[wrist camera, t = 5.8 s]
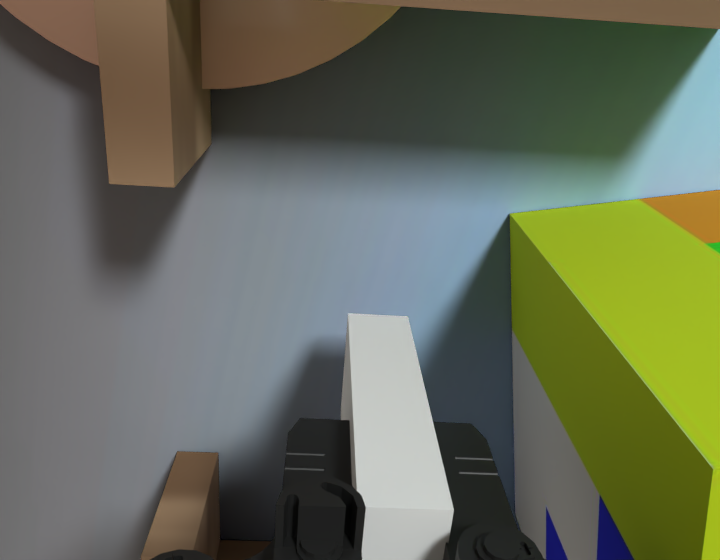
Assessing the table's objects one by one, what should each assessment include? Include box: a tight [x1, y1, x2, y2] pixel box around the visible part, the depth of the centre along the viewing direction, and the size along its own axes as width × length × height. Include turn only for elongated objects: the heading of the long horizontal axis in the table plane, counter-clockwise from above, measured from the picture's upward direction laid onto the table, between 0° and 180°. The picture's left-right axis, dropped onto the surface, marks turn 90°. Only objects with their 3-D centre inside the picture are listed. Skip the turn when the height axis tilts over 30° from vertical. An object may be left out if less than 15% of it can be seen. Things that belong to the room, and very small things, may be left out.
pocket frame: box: [94, 0, 720, 560], centre depth 16 cm, size 18×13×4 cm
